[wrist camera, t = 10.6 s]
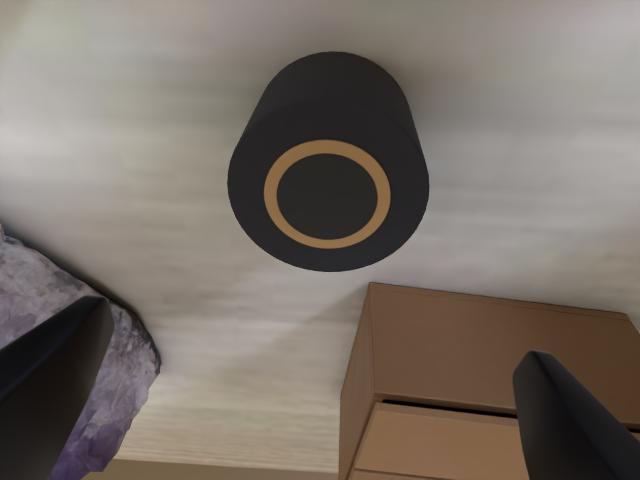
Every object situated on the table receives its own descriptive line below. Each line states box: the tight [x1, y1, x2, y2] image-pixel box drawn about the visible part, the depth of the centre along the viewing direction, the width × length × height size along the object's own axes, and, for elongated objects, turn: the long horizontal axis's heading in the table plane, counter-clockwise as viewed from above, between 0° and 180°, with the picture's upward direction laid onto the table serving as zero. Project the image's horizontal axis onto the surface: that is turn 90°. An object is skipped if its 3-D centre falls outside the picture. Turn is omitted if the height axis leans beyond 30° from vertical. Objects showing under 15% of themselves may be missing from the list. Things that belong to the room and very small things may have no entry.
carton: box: [338, 282, 640, 480], centre depth 23 cm, size 14×11×7 cm
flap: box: [354, 402, 640, 480], centre depth 18 cm, size 14×5×1 cm, turn 84°
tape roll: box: [227, 52, 429, 272], centre depth 15 cm, size 6×6×5 cm
